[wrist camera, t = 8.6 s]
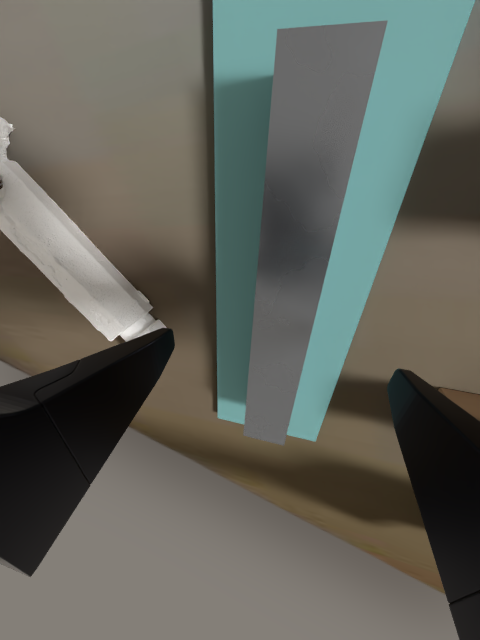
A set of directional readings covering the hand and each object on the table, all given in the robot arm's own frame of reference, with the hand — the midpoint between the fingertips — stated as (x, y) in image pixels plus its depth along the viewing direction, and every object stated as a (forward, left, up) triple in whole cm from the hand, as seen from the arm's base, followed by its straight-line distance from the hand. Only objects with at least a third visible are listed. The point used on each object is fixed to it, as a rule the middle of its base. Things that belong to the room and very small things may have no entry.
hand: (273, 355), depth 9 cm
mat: (0, 0, -6) cm, 6 cm away
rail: (0, 0, -6) cm, 6 cm away
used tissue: (0, +17, -7) cm, 18 cm away
